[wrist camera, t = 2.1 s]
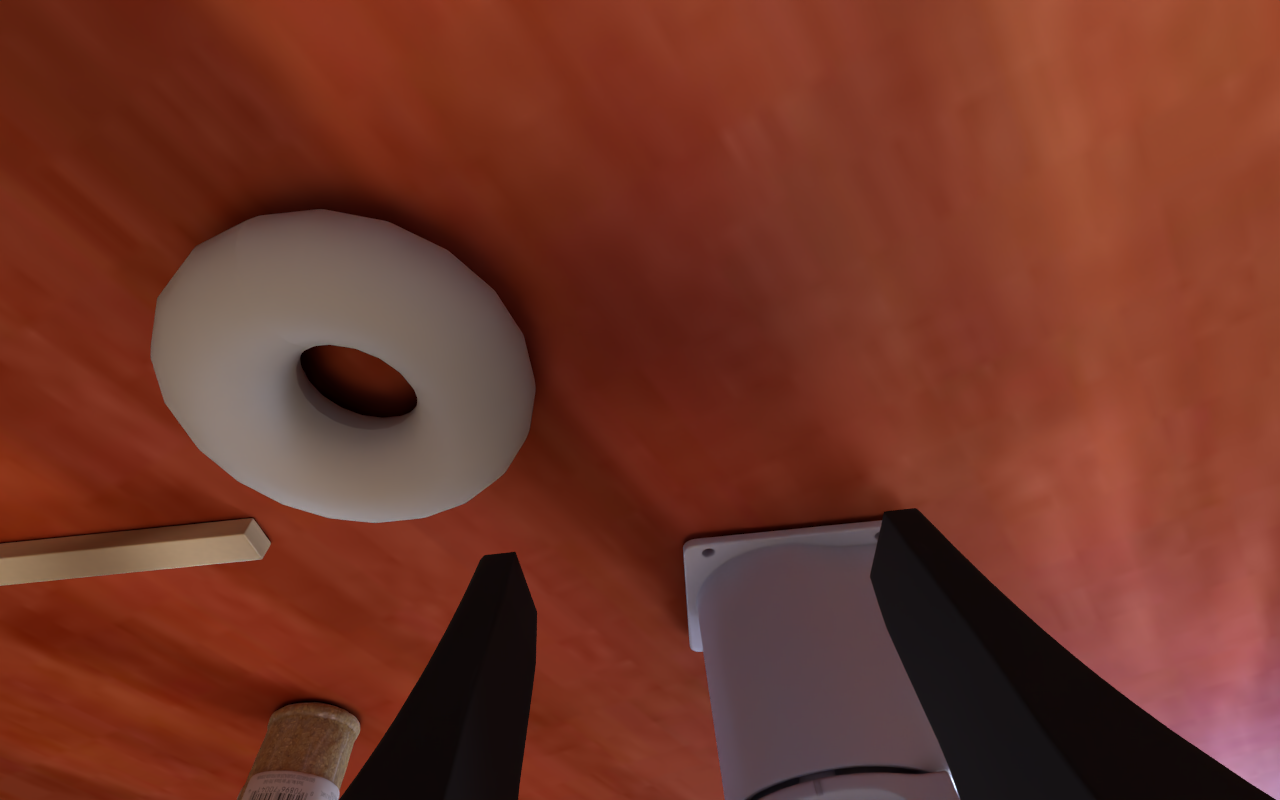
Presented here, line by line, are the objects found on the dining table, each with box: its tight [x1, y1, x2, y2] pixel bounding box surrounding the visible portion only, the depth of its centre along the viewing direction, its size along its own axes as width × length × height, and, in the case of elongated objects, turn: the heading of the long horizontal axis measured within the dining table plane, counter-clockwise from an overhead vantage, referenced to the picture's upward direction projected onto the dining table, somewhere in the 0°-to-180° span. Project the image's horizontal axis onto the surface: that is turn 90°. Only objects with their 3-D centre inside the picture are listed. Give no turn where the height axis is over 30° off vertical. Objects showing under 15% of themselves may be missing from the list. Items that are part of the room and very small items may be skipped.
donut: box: [151, 209, 536, 523], centre depth 17 cm, size 10×4×10 cm
